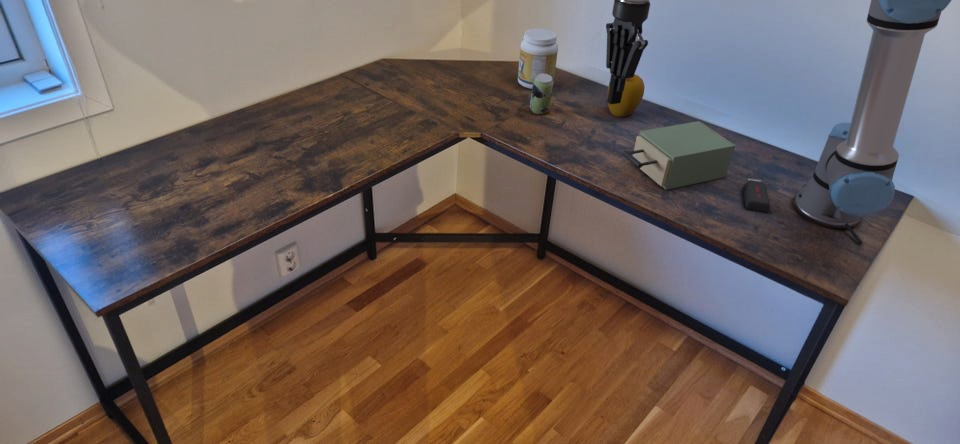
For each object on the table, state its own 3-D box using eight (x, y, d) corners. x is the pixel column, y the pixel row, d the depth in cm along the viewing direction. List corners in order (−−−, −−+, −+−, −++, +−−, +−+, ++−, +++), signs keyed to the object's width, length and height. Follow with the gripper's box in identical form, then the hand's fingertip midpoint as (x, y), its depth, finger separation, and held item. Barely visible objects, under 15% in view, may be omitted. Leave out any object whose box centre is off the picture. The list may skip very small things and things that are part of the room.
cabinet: (665, 190, 167) (673, 157, 161) (633, 162, 178) (639, 131, 172) (725, 177, 174) (735, 145, 168) (690, 151, 184) (699, 120, 179)
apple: (636, 124, 197) (644, 84, 189) (600, 118, 199) (607, 78, 192) (640, 110, 205) (649, 71, 198) (606, 104, 208) (613, 65, 200)
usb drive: (746, 208, 162) (749, 199, 160) (741, 184, 171) (744, 175, 170) (768, 212, 161) (771, 203, 159) (762, 187, 170) (765, 178, 169)
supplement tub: (514, 75, 222) (518, 27, 213) (549, 76, 224) (555, 27, 214) (520, 90, 213) (524, 40, 203) (556, 90, 214) (563, 40, 204)
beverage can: (544, 106, 204) (548, 69, 197) (553, 116, 198) (558, 79, 191) (525, 107, 202) (529, 71, 195) (534, 118, 197) (538, 81, 190)
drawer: (641, 190, 164) (647, 164, 160) (612, 165, 174) (617, 139, 170) (718, 174, 173) (726, 148, 168) (686, 151, 183) (693, 126, 178)
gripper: (666, 7, 134) (643, 112, 147) (630, -11, 143) (612, 89, 157) (635, 10, 131) (615, 116, 145) (601, -9, 140) (585, 93, 154)
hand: (613, 102), depth 151 cm, fingers closed
